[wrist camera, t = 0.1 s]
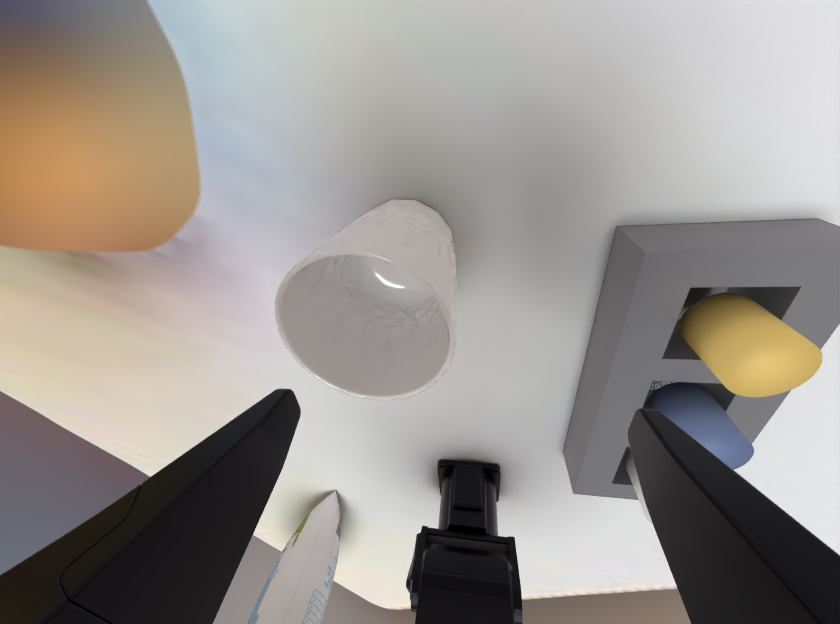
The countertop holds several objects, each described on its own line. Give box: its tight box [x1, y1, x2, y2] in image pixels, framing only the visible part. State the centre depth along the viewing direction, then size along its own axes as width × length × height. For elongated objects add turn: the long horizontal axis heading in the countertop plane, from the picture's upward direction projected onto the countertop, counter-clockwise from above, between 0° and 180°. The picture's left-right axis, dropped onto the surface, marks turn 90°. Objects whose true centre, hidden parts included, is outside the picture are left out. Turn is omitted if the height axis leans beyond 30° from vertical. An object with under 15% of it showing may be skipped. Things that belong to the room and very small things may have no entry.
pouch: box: [248, 490, 340, 624], centre depth 39 cm, size 8×19×20 cm, turn 159°
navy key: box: [647, 382, 754, 470], centre depth 20 cm, size 4×4×4 cm
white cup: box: [275, 199, 457, 400], centre depth 18 cm, size 8×8×10 cm
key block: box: [563, 219, 840, 500], centre depth 23 cm, size 22×10×4 cm, turn 5°
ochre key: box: [679, 292, 822, 397], centre depth 16 cm, size 4×4×4 cm
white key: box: [624, 451, 652, 523], centre depth 23 cm, size 4×4×4 cm
